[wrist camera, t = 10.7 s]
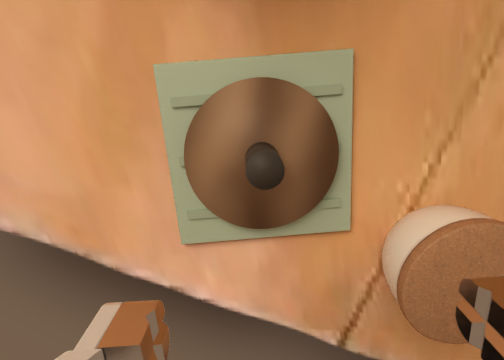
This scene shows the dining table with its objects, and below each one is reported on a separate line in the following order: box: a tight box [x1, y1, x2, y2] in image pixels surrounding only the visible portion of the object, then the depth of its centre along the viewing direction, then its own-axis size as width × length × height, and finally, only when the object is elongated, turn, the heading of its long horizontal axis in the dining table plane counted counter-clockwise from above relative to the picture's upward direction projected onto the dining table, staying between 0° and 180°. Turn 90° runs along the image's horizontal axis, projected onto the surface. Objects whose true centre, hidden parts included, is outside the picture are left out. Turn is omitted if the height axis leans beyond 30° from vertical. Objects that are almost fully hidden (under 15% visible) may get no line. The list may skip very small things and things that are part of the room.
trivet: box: [153, 49, 354, 244], centre depth 28 cm, size 16×16×1 cm
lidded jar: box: [382, 205, 504, 344], centre depth 27 cm, size 11×11×9 cm
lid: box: [184, 77, 339, 229], centre depth 25 cm, size 13×13×5 cm
